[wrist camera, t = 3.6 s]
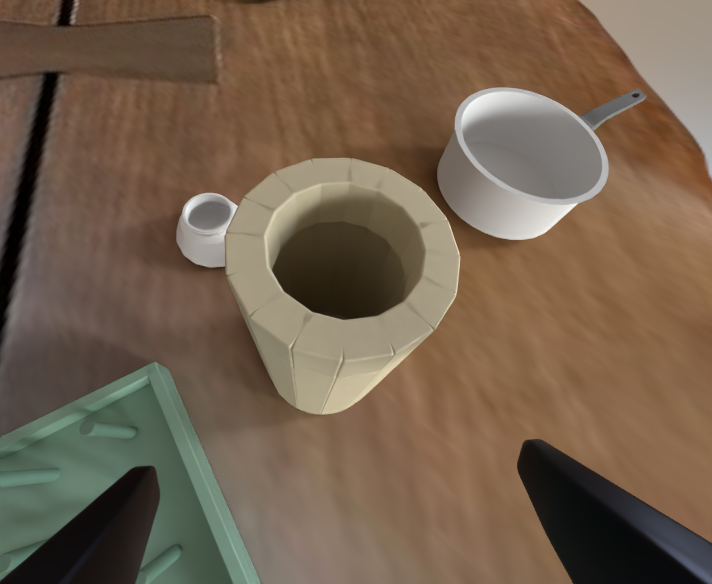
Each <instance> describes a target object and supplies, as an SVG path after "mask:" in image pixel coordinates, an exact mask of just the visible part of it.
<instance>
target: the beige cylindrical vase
mask: <svg viewBox="0 0 712 584" xmlns="http://www.w3.org/2000/svg"><path fill="white" fill-rule="evenodd" d="M224 241H225V275H226V277H227V281H228V283H229V285H230V288H231V290H232V292H233V295H234V297H235V299H236V301H237V304H238V306H239V308H240V311H241V313H242V315H243V317H244V320H245V322H246V324H247V326H248V329H249V331H250V333H251V335H252V338H253V340H254V342H255V345H256V347H257V349H258V351H259V354H260V356H261V358H262V360H263V363H264V365H265V367H266V369H267V372H268V374H269V376H270V378H271V380H272V382H273V384H274V386H275V388H276V389H277V391H278V393H279V394H280V396H282V397H283V398H284V399H285V400H286V401H287V402H288V403H289V404H291V405H292V406H294V407H295V408H297V409H299V410H301V411H304V412H308V413H312V414H332V413H336V412H339V411H343V410H345V409H347V408H348V407H350V406H352V405H353V404H354V403H356V402H357V401H359V400H360V399H362V398H363V397H364V396H365V395H366V394H367V393H368V392H369V391H370V390H371V389H372V388H373V387H374V386H376V385H377V384H378V383H379V382H380V381H381V380H382V379H383V378H384V377H385V376H386V375H387V374H388V373H389V372H391V371H392V370H393V369H394V368H395V367H396V366H397V365H398V364H399V363H400V362H401V361H402V360H403V359H404V358H405V357H407V356H408V355H409V354H410V353H411V352H412V351H413V350H414V349H415V348H416V347H417V346H418V345H419V344H420V343H421V342H422V341H423V340H425V339H426V338H427V337H428V336H429V335H430V334H431V333H432V332H433V331H434V330H435V329H436V328H437V326H438V325H439V323H440V321H441V320H442V318H443V316H444V315H445V313H446V312H447V310H448V308H449V307H450V305H451V304H452V302H453V300H454V299H455V297H456V294H457V287H458V276H459V266H460V256H459V251H458V248H457V245H456V242H455V239H454V236H453V233H452V230H451V227H450V224H449V221H448V220H447V218H446V216H445V215H444V214H443V213H442V212H441V210H440V209H439V208H438V207H437V206H436V204H435V203H434V202H433V201H432V200H431V198H430V197H429V196H428V195H427V194H426V192H425V191H423V190H422V188H420V187H419V186H417V185H415V184H414V183H412V182H411V181H409V180H407V179H406V178H404V177H403V176H401V175H399V174H398V173H396V172H395V171H393V170H391V169H388V168H386V167H383V166H379V165H376V164H372V163H368V162H365V161H361V160H357V159H354V158H351V159H350V158H316V159H311V160H306V161H303V162H300V163H297V164H294V165H291V166H289V167H286V168H283V169H280V170H277V171H275V172H274V173H271V174H270V175H269V176H267V177H266V178H265V179H264V180H263V181H261V182H260V183H259V184H258V185H257V186H255V187H254V188H253V189H252V190H251V191H249V192H248V193H247V194H246V195H245V196H244V197H243V198H242V199H241V201H240V203H239V205H238V207H237V209H236V211H235V213H234V216H233V218H232V220H231V222H230V224H229V226H228V228H227V230H226V234H225V236H224Z"/></svg>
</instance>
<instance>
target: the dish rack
mask: <svg viewBox="0 0 712 584" xmlns="http://www.w3.org/2000/svg"><path fill="white" fill-rule="evenodd" d="M147 465H152V466H154V467H155V469H156V472H157V478H158V483H159V488H160V501H159V505H158V509H157V512H156V516H155V519H154V522H153V526H152V529H151V533H150V536H149V540H148V543H147V547H146V550H145V553H144V557H143V560H142V564H141V567H140V571H139V574H138V577H137V580H136V583H135V584H261V582H260V580H259V578H258V576H257V573H256V571H255V569H254V566H253V564H252V562H251V559H250V557H249V555H248V552H247V550H246V548H245V545H244V543H243V541H242V539H241V536H240V534H239V532H238V529H237V527H236V525H235V522H234V520H233V518H232V515H231V513H230V511H229V508H228V506H227V504H226V502H225V499H224V497H223V495H222V492H221V490H220V488H219V485H218V483H217V481H216V478H215V476H214V474H213V471H212V469H211V467H210V465H209V462H208V460H207V458H206V455H205V453H204V451H203V448H202V446H201V444H200V441H199V439H198V437H197V434H196V432H195V430H194V428H193V425H192V423H191V421H190V418H189V416H188V414H187V411H186V409H185V407H184V404H183V402H182V400H181V397H180V395H179V393H178V391H177V388H176V386H175V384H174V381H173V379H172V377H171V374H170V372H169V370H168V369H167V368H165V367H163V366H162V365H160V364H158V363H157V362H153V363H151V364H149V365H147V366H144V367H142V368H140V369H138V370H136V371H134V372H132V373H130V374H128V375H126V376H124V377H122V378H120V379H118V380H116V381H114V382H112V383H110V384H108V385H106V386H104V387H102V388H100V389H97V390H95V391H93V392H91V393H89V394H87V395H85V396H83V397H81V398H79V399H77V400H75V401H73V402H71V403H69V404H67V405H65V406H63V407H61V408H59V409H57V410H55V411H53V412H50V413H48V414H46V415H44V416H42V417H40V418H38V419H36V420H34V421H32V422H30V423H28V424H26V425H24V426H22V427H20V428H18V429H16V430H14V431H12V432H10V433H8V434H5V435H3V436H1V437H0V581H1V580H2V579H3V578H4V577H5V576H6V575H8V574H9V573H10V572H11V571H12V570H13V569H15V568H16V567H17V566H18V565H19V564H20V563H22V562H23V561H24V560H25V559H26V558H27V557H29V556H30V555H31V554H32V553H33V552H34V551H36V550H37V549H38V548H39V547H40V546H41V545H43V544H44V543H45V542H46V541H47V540H48V539H49V538H51V537H52V536H53V535H54V534H55V533H56V532H58V531H59V530H60V529H61V528H62V527H63V526H65V525H66V524H67V523H68V522H69V521H70V520H72V519H73V518H74V517H75V516H76V515H77V514H79V513H80V512H81V511H82V510H83V509H84V508H86V507H87V506H88V505H89V504H90V503H91V502H93V501H94V500H95V499H96V498H97V497H98V496H100V495H101V494H102V493H103V492H104V491H105V490H107V489H108V488H109V487H110V486H111V485H112V484H114V483H115V482H116V481H117V480H118V479H119V478H121V477H122V476H123V475H124V474H125V473H126V472H128V471H129V470H130V469H131V468H133V467H136V466H147Z"/></svg>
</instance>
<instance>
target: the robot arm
mask: <svg viewBox="0 0 712 584" xmlns="http://www.w3.org/2000/svg"><path fill="white" fill-rule="evenodd" d="M517 469H518V473H519V475H520V478H521V480H522V482H523V484H524V486H525V489H526V491H527V493H528V495H529V498H530V500H531V502H532V504H533V506H534V509H535V511H536V513H537V515H538V517H539V520H540V522H541V524H542V526H543V528H544V530H545V532H546V534H547V536H548V538H549V540H550V542H551V544H552V546H553V548H554V550H555V551H556V553H557V555H558V557H559V559H560V560H561V562H562V564H563V566H564V568H565V569H566V571H567V573H568V575H569V577H570V578H571V580H572V582H573V584H712V543H711V542H709V541H707V540H706V539H704V538H703V537H701V536H699V535H698V534H696V533H694V532H693V531H691V530H689V529H688V528H686V527H684V526H683V525H681V524H679V523H678V522H676V521H675V520H673V519H671V518H670V517H668V516H666V515H665V514H663V513H661V512H660V511H658V510H656V509H655V508H653V507H652V506H650V505H648V504H647V503H645V502H643V501H642V500H640V499H638V498H637V497H635V496H633V495H632V494H630V493H628V492H627V491H625V490H624V489H622V488H620V487H619V486H617V485H615V484H614V483H612V482H610V481H609V480H607V479H605V478H604V477H602V476H601V475H599V474H597V473H596V472H594V471H592V470H591V469H589V468H587V467H586V466H584V465H582V464H581V463H579V462H577V461H576V460H574V459H573V458H571V457H569V456H568V455H566V454H564V453H563V452H561V451H559V450H558V449H556V448H554V447H553V446H551V445H550V444H548V443H546V442H545V441H543V440H540V439H532V440H525V441H524V442H523V445H522V448H521V452H520V455H519V459H518V462H517ZM159 501H160V488H159V483H158V478H157V472H156V469H155V467H154V466H152V465H147V466H136V467H133V468H131V469H130V470H129V471H128V472H126V473H125V474H124V475H123V476H122V477H121V478H119V479H118V480H117V481H116V482H115V483H114V484H112V485H111V486H110V487H109V488H108V489H107V490H105V491H104V492H103V493H102V494H101V495H100V496H98V497H97V498H96V499H95V500H94V501H93V502H91V503H90V504H89V505H88V506H87V507H86V508H84V509H83V510H82V511H81V512H80V513H79V514H77V515H76V516H75V517H74V518H73V519H72V520H70V521H69V522H68V523H67V524H66V525H65V526H63V527H62V528H61V529H60V530H59V531H58V532H56V533H55V534H54V535H53V536H52V537H51V538H49V539H48V540H47V541H46V542H45V543H44V544H43V545H41V546H40V547H39V548H38V549H37V550H36V551H34V552H33V553H32V554H31V555H30V556H29V557H27V558H26V559H25V560H24V561H23V562H22V563H20V564H19V565H18V566H17V567H16V568H15V569H13V570H12V571H11V572H10V573H9V574H8V575H6V576H5V577H4V578H3V579H2V580H1V581H0V584H135V583H136V580H137V577H138V574H139V571H140V567H141V564H142V560H143V557H144V553H145V550H146V547H147V543H148V540H149V536H150V533H151V529H152V526H153V522H154V519H155V516H156V512H157V509H158V505H159Z"/></svg>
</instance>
